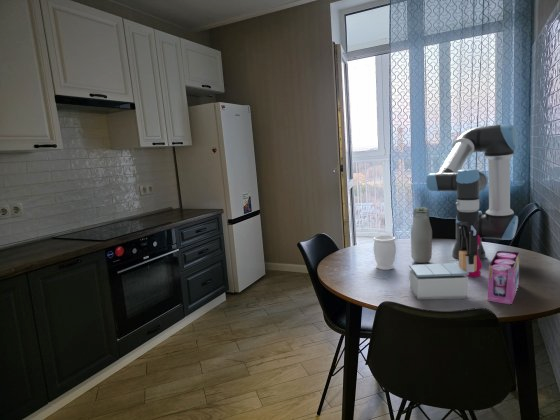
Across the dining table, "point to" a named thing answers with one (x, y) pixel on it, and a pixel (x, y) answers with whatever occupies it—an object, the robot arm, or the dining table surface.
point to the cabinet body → (439, 287)
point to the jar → (384, 252)
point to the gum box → (503, 277)
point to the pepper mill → (479, 264)
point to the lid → (444, 268)
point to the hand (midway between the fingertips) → (467, 269)
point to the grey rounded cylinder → (421, 236)
